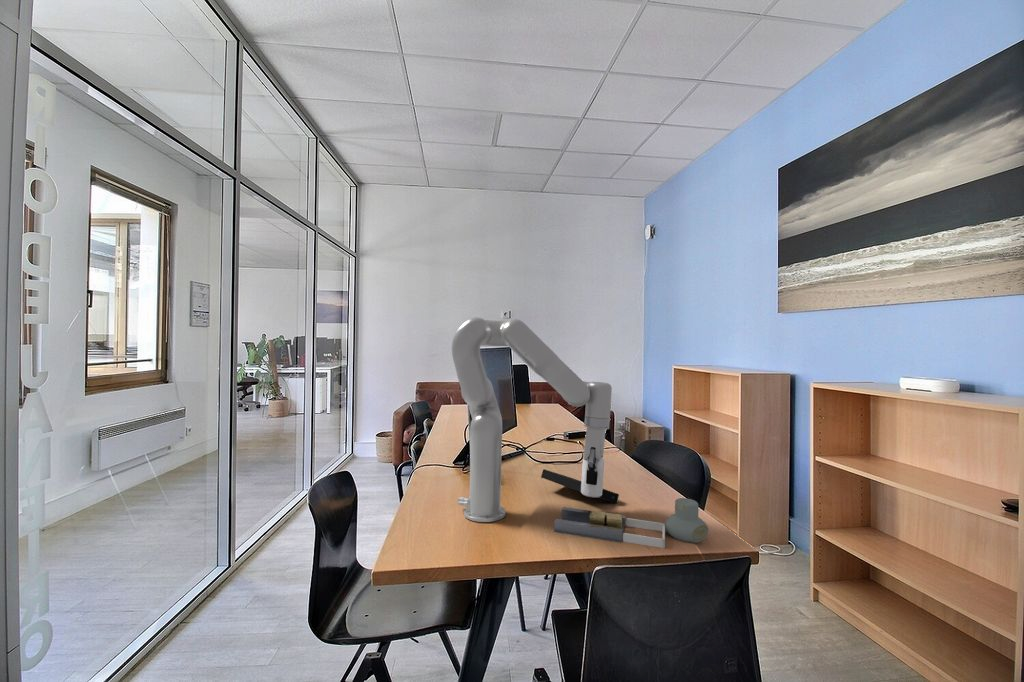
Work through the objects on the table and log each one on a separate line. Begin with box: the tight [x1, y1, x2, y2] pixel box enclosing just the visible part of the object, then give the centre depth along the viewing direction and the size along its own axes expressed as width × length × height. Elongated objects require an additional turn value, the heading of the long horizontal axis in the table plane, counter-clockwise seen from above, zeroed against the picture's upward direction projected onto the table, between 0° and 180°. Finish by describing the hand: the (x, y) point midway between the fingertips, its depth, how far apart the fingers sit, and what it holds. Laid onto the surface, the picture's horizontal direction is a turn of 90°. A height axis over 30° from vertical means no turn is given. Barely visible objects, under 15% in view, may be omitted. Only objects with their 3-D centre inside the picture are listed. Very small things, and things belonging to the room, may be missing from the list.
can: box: [580, 454, 605, 499], centre depth 131 cm, size 6×6×12 cm
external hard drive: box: [540, 468, 620, 504], centre depth 147 cm, size 14×23×3 cm, turn 37°
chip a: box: [590, 510, 607, 526], centre depth 119 cm, size 4×4×4 cm
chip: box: [605, 512, 622, 529], centre depth 117 cm, size 4×4×4 cm
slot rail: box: [553, 506, 627, 544], centre depth 119 cm, size 18×13×4 cm
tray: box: [622, 517, 666, 549], centre depth 115 cm, size 10×11×3 cm
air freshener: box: [664, 497, 709, 544], centre depth 116 cm, size 11×8×10 cm
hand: (593, 480), depth 131 cm, fingers closed on can, 6 cm apart
